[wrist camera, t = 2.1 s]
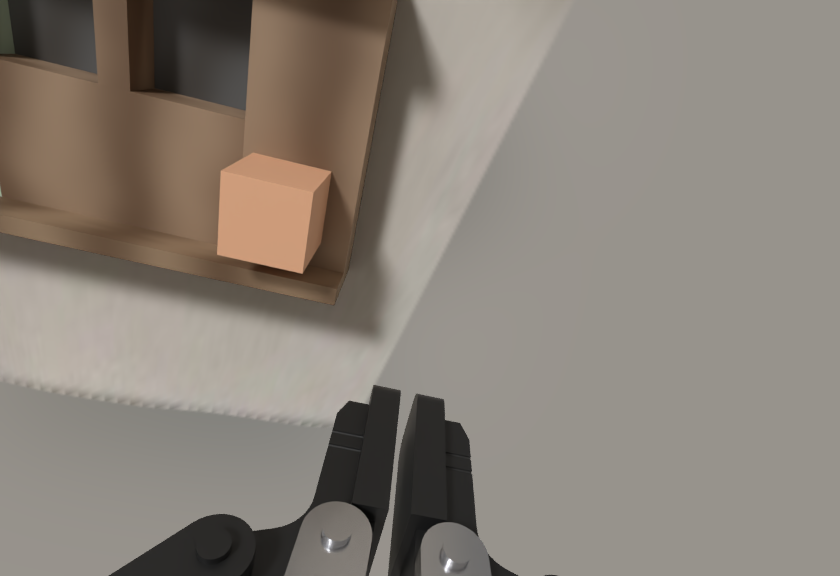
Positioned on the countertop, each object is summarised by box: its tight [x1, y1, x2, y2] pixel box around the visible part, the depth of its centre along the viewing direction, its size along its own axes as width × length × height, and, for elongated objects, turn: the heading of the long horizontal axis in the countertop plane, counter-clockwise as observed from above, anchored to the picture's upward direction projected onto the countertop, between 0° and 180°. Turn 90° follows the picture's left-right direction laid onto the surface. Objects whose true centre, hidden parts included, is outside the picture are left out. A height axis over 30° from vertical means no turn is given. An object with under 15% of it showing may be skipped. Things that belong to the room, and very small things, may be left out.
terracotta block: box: [217, 153, 332, 274], centre depth 23 cm, size 4×4×4 cm
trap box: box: [0, 0, 398, 305], centre depth 23 cm, size 25×16×4 cm, turn 77°
